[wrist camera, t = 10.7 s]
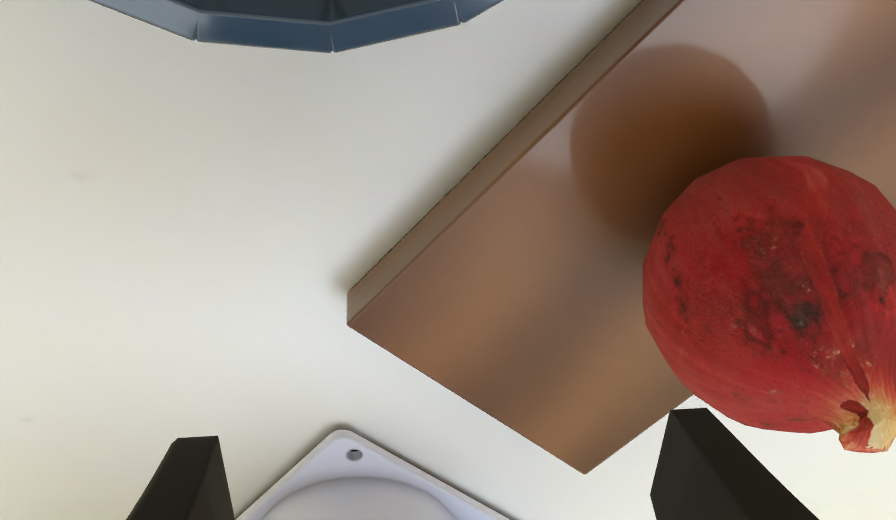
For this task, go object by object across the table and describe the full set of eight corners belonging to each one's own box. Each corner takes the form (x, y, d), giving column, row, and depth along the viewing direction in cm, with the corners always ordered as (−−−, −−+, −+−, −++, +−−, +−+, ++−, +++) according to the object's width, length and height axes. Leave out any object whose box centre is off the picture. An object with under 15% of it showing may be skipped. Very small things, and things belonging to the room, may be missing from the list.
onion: (568, 173, 20) (678, 399, 13) (791, 57, 19) (1035, 239, 12) (649, 328, 23) (771, 574, 16) (845, 237, 22) (1063, 461, 15)
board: (1077, 56, 21) (1123, 76, 20) (574, 442, 27) (585, 476, 26) (894, -252, 17) (938, -250, 15) (346, 293, 23) (345, 325, 22)
